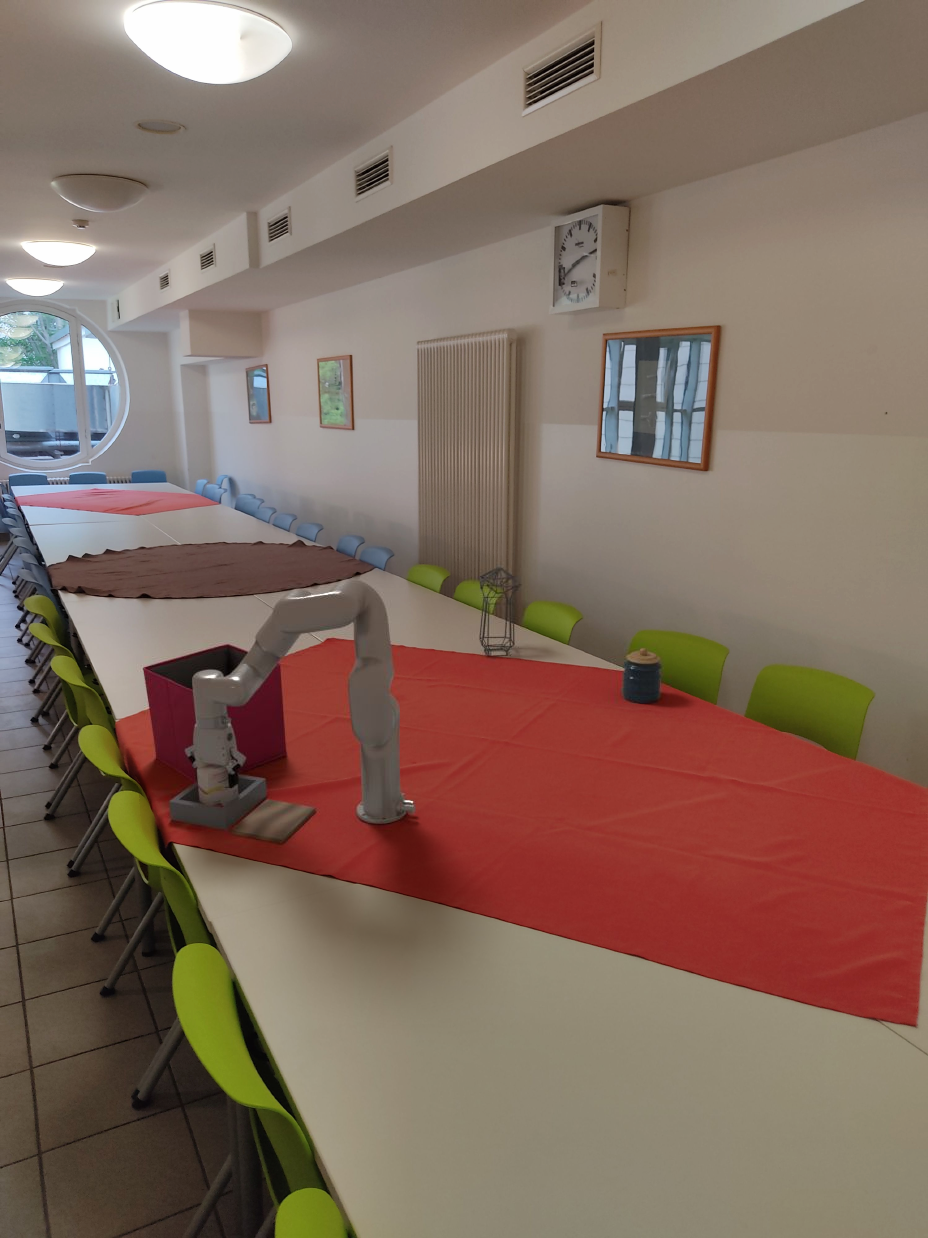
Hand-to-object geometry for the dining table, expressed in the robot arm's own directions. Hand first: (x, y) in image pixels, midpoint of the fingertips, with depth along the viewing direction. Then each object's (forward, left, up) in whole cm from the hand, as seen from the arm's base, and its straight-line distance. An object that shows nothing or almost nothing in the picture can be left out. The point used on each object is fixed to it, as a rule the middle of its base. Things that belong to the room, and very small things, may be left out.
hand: (217, 783), depth 207 cm
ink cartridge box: (0, 0, -7) cm, 7 cm away
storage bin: (+17, -25, -7) cm, 31 cm away
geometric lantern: (-32, -142, -7) cm, 146 cm away
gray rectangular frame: (0, 0, -7) cm, 7 cm away
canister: (-92, -111, -7) cm, 144 cm away
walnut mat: (-17, +2, -7) cm, 19 cm away
